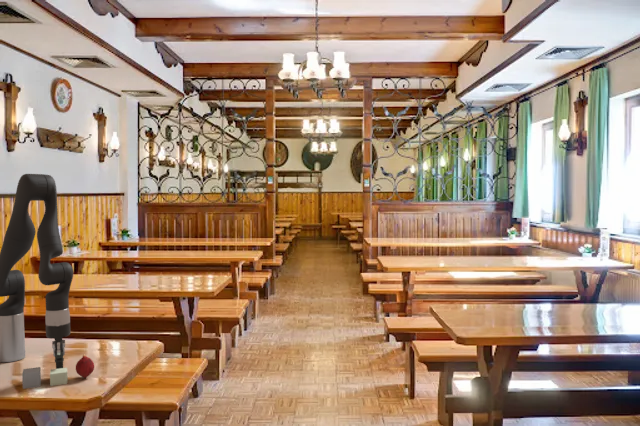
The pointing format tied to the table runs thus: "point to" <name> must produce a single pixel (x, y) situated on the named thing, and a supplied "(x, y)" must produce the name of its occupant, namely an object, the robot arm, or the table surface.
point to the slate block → (31, 377)
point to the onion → (84, 366)
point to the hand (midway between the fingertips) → (59, 372)
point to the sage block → (58, 376)
